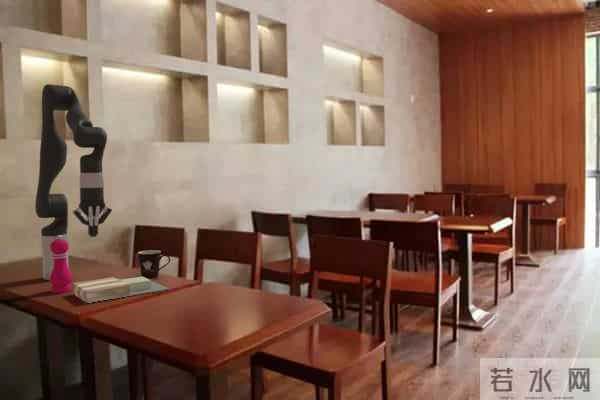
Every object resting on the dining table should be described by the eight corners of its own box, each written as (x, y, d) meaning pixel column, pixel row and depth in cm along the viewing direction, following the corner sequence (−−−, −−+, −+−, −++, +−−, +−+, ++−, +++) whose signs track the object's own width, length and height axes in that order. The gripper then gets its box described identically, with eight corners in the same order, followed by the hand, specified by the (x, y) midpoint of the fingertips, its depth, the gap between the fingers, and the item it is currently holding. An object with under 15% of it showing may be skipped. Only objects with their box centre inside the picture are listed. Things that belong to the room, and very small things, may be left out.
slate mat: (114, 288, 195) (114, 286, 195) (151, 282, 204) (151, 280, 204) (130, 296, 183) (130, 295, 183) (169, 290, 191) (169, 288, 191)
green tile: (118, 288, 192) (117, 280, 192) (142, 284, 198) (142, 276, 198) (126, 292, 186) (125, 284, 186) (151, 288, 191) (151, 280, 191)
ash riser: (73, 294, 187) (73, 282, 187) (114, 288, 195) (113, 277, 195) (87, 303, 174) (86, 291, 174) (130, 296, 183) (129, 285, 182)
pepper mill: (64, 293, 188) (61, 236, 186) (45, 293, 189) (43, 236, 188) (76, 288, 195) (74, 233, 193) (58, 288, 196) (56, 233, 195)
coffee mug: (133, 278, 211) (133, 253, 210) (148, 274, 219) (147, 249, 218) (158, 280, 207) (157, 254, 206) (172, 276, 215) (171, 251, 214)
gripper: (107, 184, 190) (108, 233, 192) (68, 186, 182) (69, 237, 184) (115, 186, 185) (116, 236, 186) (74, 187, 176) (76, 239, 178)
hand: (93, 236), depth 185 cm, fingers closed
